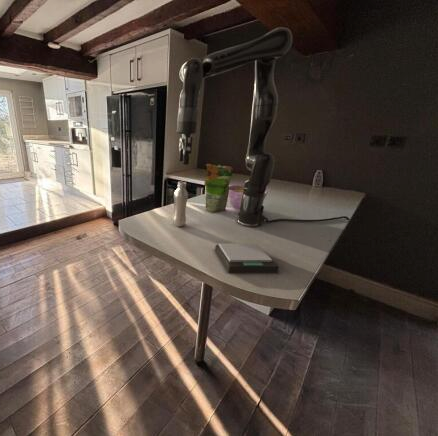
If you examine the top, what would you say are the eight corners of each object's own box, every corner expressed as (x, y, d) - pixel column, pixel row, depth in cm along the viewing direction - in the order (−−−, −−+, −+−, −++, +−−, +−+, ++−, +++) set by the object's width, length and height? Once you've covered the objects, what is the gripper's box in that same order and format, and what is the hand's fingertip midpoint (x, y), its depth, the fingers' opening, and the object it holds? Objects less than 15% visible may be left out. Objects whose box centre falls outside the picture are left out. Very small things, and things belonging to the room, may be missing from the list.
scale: (256, 250, 87) (258, 242, 86) (277, 272, 74) (279, 264, 73) (214, 250, 86) (216, 242, 85) (228, 272, 73) (229, 264, 72)
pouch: (228, 213, 123) (236, 165, 114) (207, 213, 122) (213, 165, 112) (219, 206, 133) (226, 162, 124) (199, 206, 132) (205, 162, 122)
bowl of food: (267, 217, 119) (273, 195, 114) (227, 214, 121) (231, 193, 117) (257, 205, 137) (261, 186, 132) (222, 202, 140) (225, 183, 135)
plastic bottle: (186, 223, 109) (190, 181, 101) (184, 229, 103) (188, 185, 96) (173, 221, 111) (176, 180, 103) (169, 226, 105) (172, 183, 97)
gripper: (201, 120, 84) (196, 165, 90) (192, 121, 97) (189, 160, 103) (180, 120, 83) (177, 165, 90) (175, 120, 97) (172, 160, 103)
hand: (183, 162), depth 96 cm, fingers open, 8 cm apart
